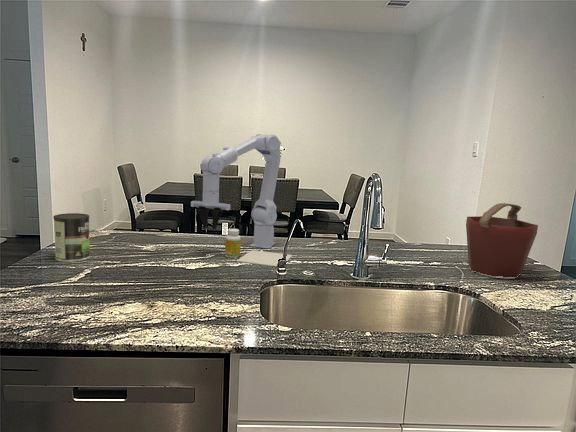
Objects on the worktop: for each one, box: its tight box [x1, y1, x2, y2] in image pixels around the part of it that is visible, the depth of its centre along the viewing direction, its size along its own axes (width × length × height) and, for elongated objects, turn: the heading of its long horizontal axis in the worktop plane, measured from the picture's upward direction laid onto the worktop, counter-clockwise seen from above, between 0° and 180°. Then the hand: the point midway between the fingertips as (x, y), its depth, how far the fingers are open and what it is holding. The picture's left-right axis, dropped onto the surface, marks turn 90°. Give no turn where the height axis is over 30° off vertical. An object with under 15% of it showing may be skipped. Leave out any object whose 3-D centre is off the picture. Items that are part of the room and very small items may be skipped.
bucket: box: [465, 202, 539, 277], centre depth 146 cm, size 24×22×25 cm
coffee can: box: [52, 212, 91, 263], centre depth 135 cm, size 10×10×14 cm
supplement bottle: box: [224, 228, 242, 259], centre depth 148 cm, size 5×5×10 cm
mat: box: [236, 249, 294, 268], centre depth 148 cm, size 16×16×1 cm
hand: (209, 228), depth 150 cm, fingers open, 3 cm apart
